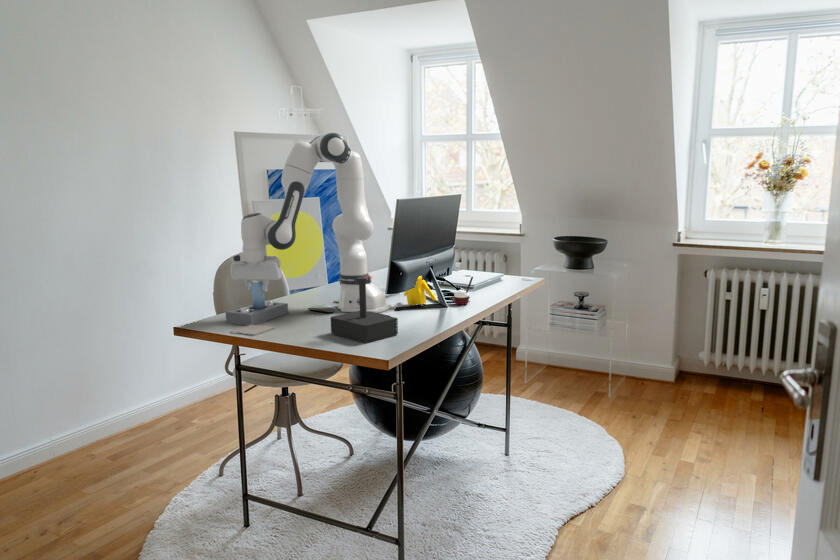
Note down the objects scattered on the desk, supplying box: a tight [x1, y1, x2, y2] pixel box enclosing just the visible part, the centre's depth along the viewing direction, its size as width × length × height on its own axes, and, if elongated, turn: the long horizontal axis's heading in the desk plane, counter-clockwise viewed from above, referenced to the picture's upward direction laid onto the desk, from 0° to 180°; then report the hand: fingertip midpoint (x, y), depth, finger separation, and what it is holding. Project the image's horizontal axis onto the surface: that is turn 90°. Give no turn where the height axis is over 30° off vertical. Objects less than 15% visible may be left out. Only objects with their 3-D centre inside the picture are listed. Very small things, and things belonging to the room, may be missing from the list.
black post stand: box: [330, 277, 399, 344], centre depth 218 cm, size 19×17×20 cm
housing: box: [225, 301, 289, 326], centre depth 246 cm, size 22×12×4 cm, turn 154°
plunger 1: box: [240, 306, 250, 313], centre depth 240 cm, size 3×3×4 cm
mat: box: [229, 324, 276, 336], centre depth 226 cm, size 11×11×1 cm
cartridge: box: [250, 280, 266, 309], centre depth 245 cm, size 5×5×11 cm
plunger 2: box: [264, 300, 274, 306], centre depth 252 cm, size 3×3×4 cm
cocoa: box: [450, 276, 474, 306], centre depth 264 cm, size 10×6×12 cm, turn 48°
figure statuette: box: [403, 275, 437, 306], centre depth 264 cm, size 18×8×22 cm, turn 50°
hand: (257, 291), depth 245 cm, fingers closed on cartridge, 5 cm apart
